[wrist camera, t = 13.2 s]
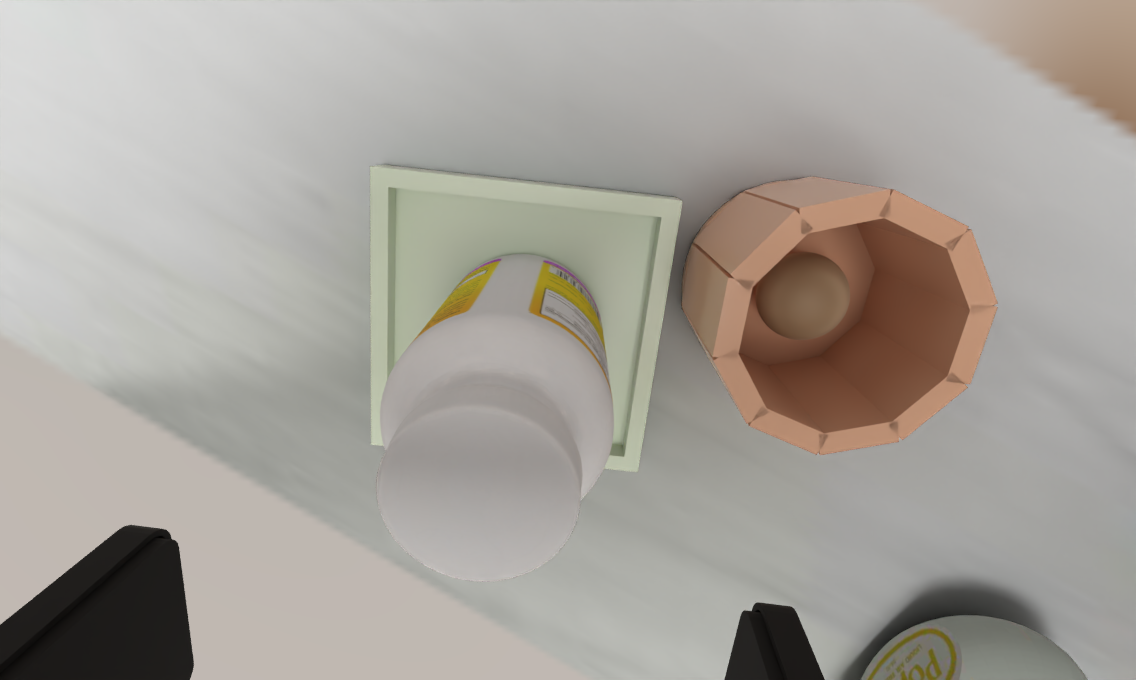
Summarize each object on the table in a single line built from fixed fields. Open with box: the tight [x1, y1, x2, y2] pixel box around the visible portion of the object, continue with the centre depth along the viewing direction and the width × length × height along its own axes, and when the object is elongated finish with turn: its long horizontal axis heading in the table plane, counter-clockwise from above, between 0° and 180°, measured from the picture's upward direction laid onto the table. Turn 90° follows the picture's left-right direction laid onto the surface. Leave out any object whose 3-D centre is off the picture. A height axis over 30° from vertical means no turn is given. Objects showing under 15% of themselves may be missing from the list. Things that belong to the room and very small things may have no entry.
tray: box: [370, 165, 683, 472], centre depth 25 cm, size 12×12×2 cm
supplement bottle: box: [376, 254, 614, 582], centre depth 19 cm, size 7×7×13 cm
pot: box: [681, 176, 998, 455], centre depth 22 cm, size 8×9×7 cm
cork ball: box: [755, 252, 850, 340], centre depth 23 cm, size 3×3×3 cm
